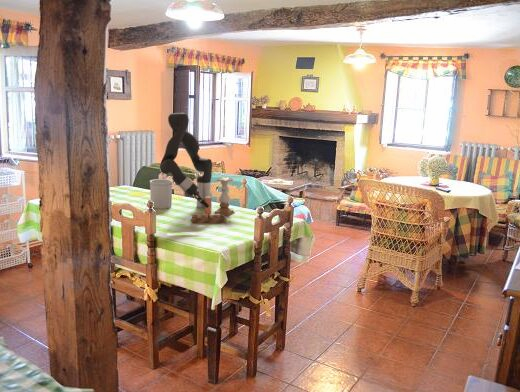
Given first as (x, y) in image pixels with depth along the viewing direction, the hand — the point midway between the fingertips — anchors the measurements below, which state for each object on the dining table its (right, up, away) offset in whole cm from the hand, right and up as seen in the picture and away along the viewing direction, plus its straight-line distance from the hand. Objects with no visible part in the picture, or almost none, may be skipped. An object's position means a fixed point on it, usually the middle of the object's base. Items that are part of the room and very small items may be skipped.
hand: (207, 205), depth 277 cm
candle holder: (+8, -7, +20) cm, 23 cm away
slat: (0, -9, +2) cm, 9 cm away
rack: (+1, -11, -1) cm, 11 cm away
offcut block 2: (+4, -10, -2) cm, 11 cm away
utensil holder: (-36, -2, +38) cm, 52 cm away
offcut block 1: (-3, -10, -3) cm, 10 cm away
